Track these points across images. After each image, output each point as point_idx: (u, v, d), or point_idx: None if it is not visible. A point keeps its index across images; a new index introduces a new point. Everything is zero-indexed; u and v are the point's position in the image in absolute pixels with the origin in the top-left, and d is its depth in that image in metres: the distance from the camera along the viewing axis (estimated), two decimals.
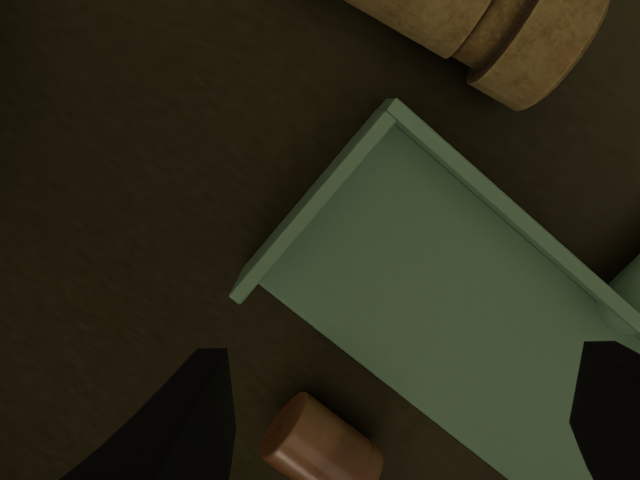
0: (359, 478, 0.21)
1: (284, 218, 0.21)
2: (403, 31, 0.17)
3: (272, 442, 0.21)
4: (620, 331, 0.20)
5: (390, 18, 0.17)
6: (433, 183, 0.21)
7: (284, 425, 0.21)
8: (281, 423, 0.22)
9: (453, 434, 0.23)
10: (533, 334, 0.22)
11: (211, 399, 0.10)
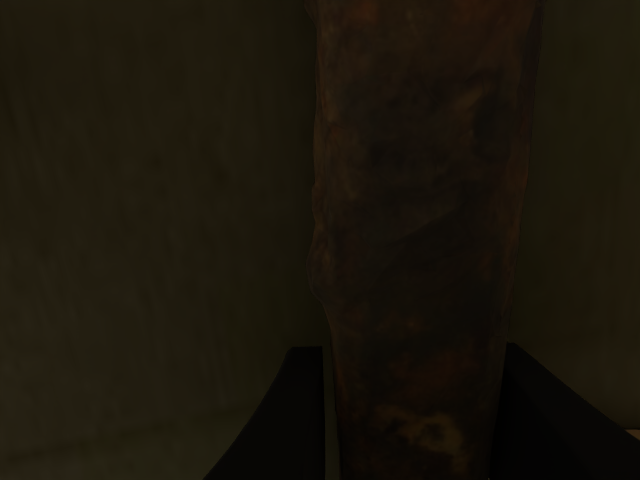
0: None
1: None
2: None
3: None
4: None
5: None
6: None
7: None
8: None
9: None
10: None
11: (319, 397, 0.10)
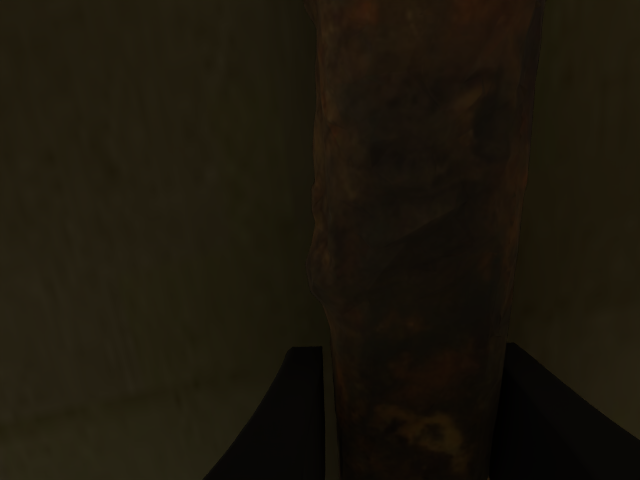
0: None
1: None
2: None
3: None
4: None
5: None
6: None
7: None
8: None
9: None
10: None
11: (319, 397, 0.10)
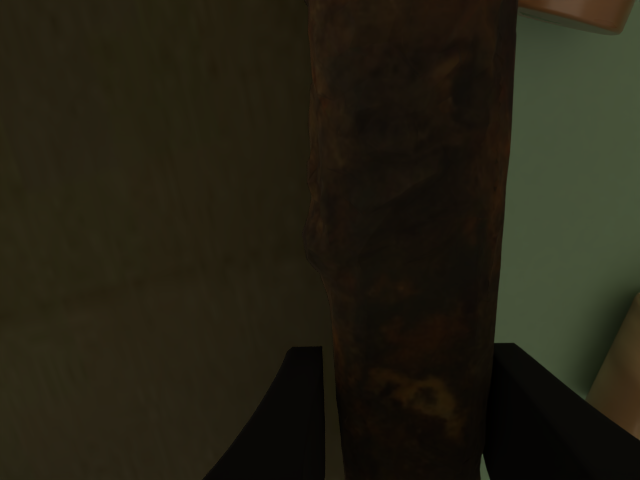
0: None
1: None
2: None
3: None
4: None
5: None
6: None
7: None
8: None
9: None
10: (637, 240, 0.15)
11: (319, 397, 0.10)
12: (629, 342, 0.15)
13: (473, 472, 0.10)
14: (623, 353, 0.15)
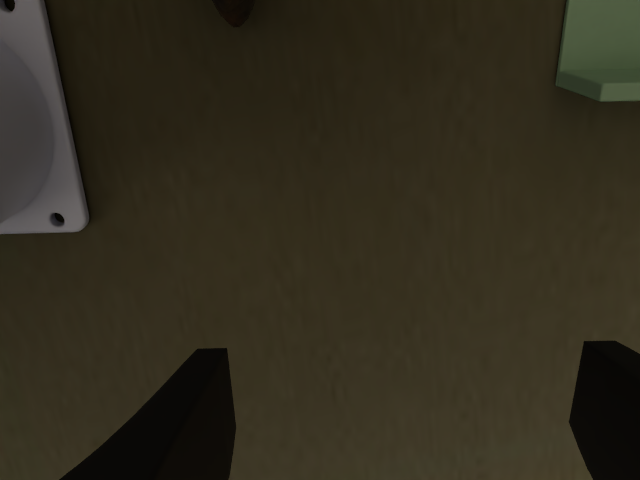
0: None
1: None
2: None
3: None
4: None
5: None
6: None
7: None
8: None
9: None
10: None
11: (211, 399, 0.10)
12: None
13: None
14: None
